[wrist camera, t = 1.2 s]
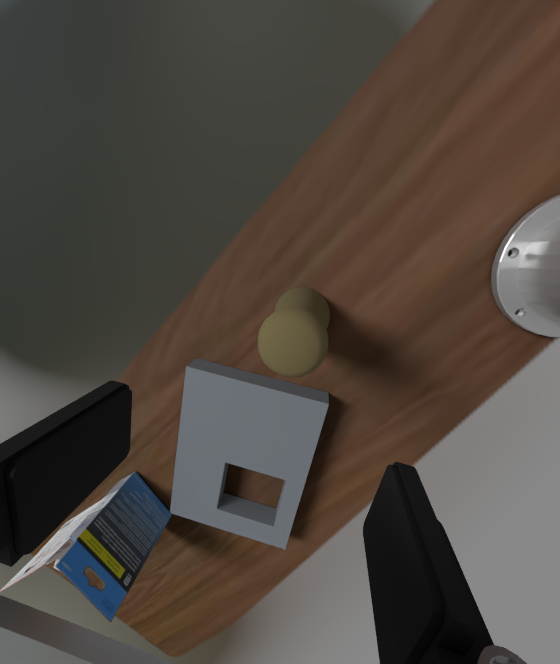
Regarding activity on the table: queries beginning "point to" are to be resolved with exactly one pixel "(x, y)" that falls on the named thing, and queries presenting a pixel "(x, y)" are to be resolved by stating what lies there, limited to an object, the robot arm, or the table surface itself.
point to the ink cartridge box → (52, 547)
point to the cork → (296, 333)
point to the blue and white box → (115, 543)
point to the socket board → (244, 447)
